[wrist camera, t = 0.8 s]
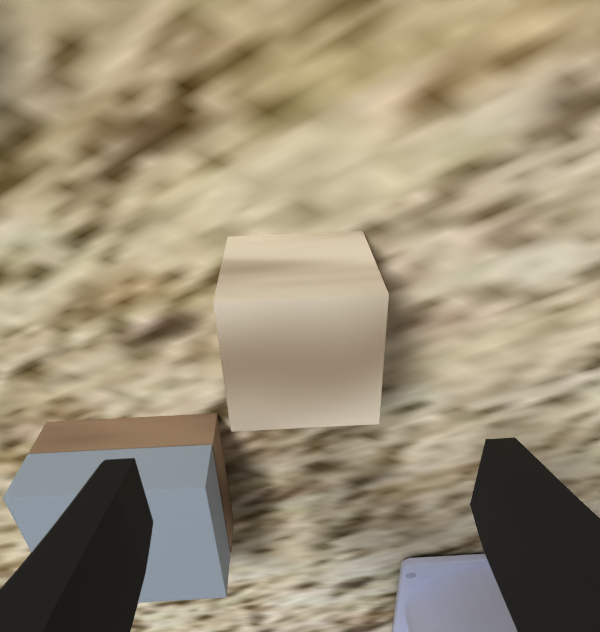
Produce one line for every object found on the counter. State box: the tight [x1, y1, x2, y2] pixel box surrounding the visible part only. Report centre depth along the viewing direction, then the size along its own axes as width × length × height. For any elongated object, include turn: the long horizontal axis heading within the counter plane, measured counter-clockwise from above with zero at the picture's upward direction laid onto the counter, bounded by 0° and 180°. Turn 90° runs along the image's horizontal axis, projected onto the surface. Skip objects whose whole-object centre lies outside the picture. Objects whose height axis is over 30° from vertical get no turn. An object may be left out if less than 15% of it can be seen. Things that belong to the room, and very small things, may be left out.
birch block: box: [213, 231, 389, 432], centre depth 15 cm, size 4×4×4 cm
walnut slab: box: [29, 413, 234, 552], centre depth 21 cm, size 7×7×2 cm
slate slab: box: [3, 445, 230, 602], centre depth 20 cm, size 7×7×2 cm
